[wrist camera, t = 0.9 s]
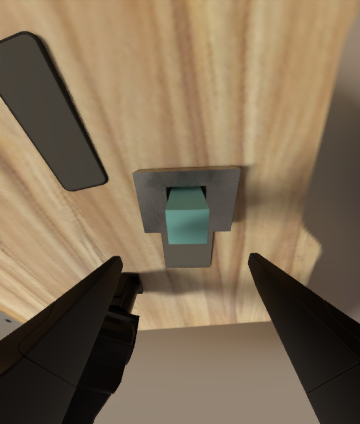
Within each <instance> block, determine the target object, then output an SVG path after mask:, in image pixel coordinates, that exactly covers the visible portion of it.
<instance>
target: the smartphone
mask: <svg viewBox="0 0 360 424" xmlns="http://www.w3.org/2000/svg"><path fill="white" fill-rule="evenodd" d="M0 97H1V98H2V100H3V101H4V102H5V104H6V105H7V107H8V108H9V110H10V111H11V113H12V114H13V116H14V117H15V119H16V120H17V121H18V123H19V124H20V125H21V127H22V128H23V130H24V131H25V133H26V134H27V136H28V137H29V139H30V140H31V142H32V143H33V144H34V146H35V147H36V149H37V150H38V152H39V153H40V155H41V156H42V158H43V159H44V160H45V162H46V163H47V165H48V166H49V168H50V169H51V171H52V172H53V174H54V175H55V176H56V178H57V179H58V181H59V182H60V184H61V185H62V187H63V188H64V189H65V190H67V191H78V190H82V189H86V188H91V187H95V186H99V185H103V184H105V183H107V181H108V177H107V175H106V173H105V170H104V168H103V166H102V164H101V162H100V160H99V158H98V156H97V154H96V152H95V150H94V148H93V146H92V144H91V141H90V139H89V137H88V135H87V133H86V131H85V129H84V127H83V125H82V123H81V121H80V119H79V117H78V114H77V112H76V110H75V108H74V106H73V104H72V102H71V100H70V97H69V95H68V93H67V91H66V88H65V86H64V84H63V82H62V80H61V78H60V77H59V75H58V73H57V71H56V69H55V67H54V65H53V63H52V61H51V59H50V57H49V55H48V53H47V51H46V49H45V47H44V45H43V43H42V42H41V40H40V39H39V38H38V37H37V36H36V35H34V34H33V33H30V32H28V31H22V32H19V33H16V34H14V35H12V36H9V37H7V38H5V39H3V40H0Z"/></svg>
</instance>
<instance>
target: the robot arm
mask: <svg viewBox="0 0 360 424" xmlns="http://www.w3.org/2000/svg"><path fill="white" fill-rule="evenodd" d="M248 265H249V268H250V271H251V274H252V277H253V279H254V282H255V285H256V288H257V290H258V292H259V294H260V297H261V299H262V301H263V303H264V305H265V307H266V309H267V311H268V314H269V316H270V318H271V320H272V322H273V324H274V326H275V328H276V331H277V333H278V335H279V337H280V339H281V341H282V343H283V345H284V348H285V350H286V352H287V354H288V356H289V358H290V360H291V363H292V365H293V367H294V369H295V371H296V373H297V375H298V377H299V380H300V382H301V384H302V386H303V388H304V390H305V392H306V393H307V397H308V399H309V401H310V403H311V405H312V407H313V409H314V412H315V414H316V416H317V418H318V420H319V422H320V424H360V324H359V323H358V322H356V321H355V320H353V319H352V318H350V317H349V316H347V315H346V314H344V313H343V312H341V311H340V310H338V309H337V308H336V307H334V306H333V305H331V304H330V303H328V302H327V301H326V300H323V299H322V298H321V297H320V296H318V295H317V294H315V293H314V292H312V291H311V290H310V289H308V288H307V287H305V286H304V285H303V284H301V283H300V282H298V281H297V280H295V279H294V278H293V277H291V276H290V275H288V274H287V273H285V272H284V271H283V270H281V269H280V268H278V267H277V266H275V265H274V264H273V263H271V262H270V261H268V260H267V259H265V258H264V257H263V256H261V255H260V254H258V253H251V254H250V256H249V260H248ZM122 268H123V263H122V260H121V258H120V256H113V257H111V258H110V259H109V260H108V261H106V262H105V263H104V264H102V265H101V266H100V267H98V268H97V269H96V270H95V271H93V272H92V273H91V274H89V275H88V276H87V277H85V278H84V279H83V280H81V281H80V282H79V283H78V284H76V285H75V286H74V287H72V288H71V289H70V290H68V291H67V292H66V293H65V294H63V295H62V296H61V297H59V298H58V299H57V300H56V301H54V302H53V303H51V304H50V305H49V306H47V307H46V308H45V309H44V310H42V311H41V312H40V313H38V314H37V315H35V316H34V317H33V318H31V319H30V320H29V321H27V322H26V323H24V324H23V325H22V326H21V327H19V328H17V329H16V330H14V331H13V332H12V333H10V334H9V335H7V336H6V337H4V338H3V339H2V340H0V424H93V422H94V420H95V417H96V416H97V414H98V413H99V412H100V410H101V409H102V407H103V406H104V404H105V403H106V401H107V400H108V398H109V397H110V396H111V394H113V393H114V392H115V391H116V389H117V388H118V386H119V384H120V383H121V380H122V375H123V372H124V368H125V365H127V363H128V362H129V360H130V358H131V355H132V352H133V349H134V345H135V340H136V335H137V329H138V323H139V316H138V315H137V316H136V315H133V314H131V312H132V309H133V305H134V302H135V299H136V296H137V294H142V293H143V288H142V285H141V281H140V278H139V275H137V274H121V271H122Z"/></svg>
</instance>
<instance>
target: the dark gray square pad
mask: <svg viewBox="0 0 360 424" xmlns="http://www.w3.org/2000/svg"><path fill="white" fill-rule="evenodd" d="M161 236H162V243H163V251H164V258H165V265H166V268H201V267H210V260H211V250H212V239H213V232H208V235H207V244H169V241H168V232H163V233H161Z"/></svg>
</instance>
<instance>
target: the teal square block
mask: <svg viewBox="0 0 360 424" xmlns="http://www.w3.org/2000/svg"><path fill="white" fill-rule="evenodd" d="M165 214H166V223H167V232H168V241H169V244H207V235H208V221H209V207H208V205H207V202H206V200H205V197H204V195H203V192H202V190H201V187H200V186H181V187H172V188H171V192H170V195H169V199H168V202H167V206H166V209H165Z"/></svg>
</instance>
